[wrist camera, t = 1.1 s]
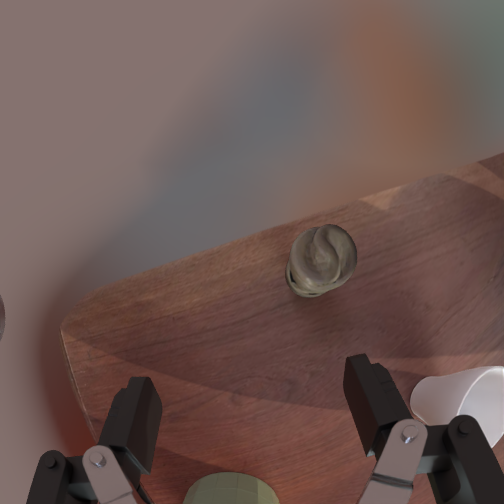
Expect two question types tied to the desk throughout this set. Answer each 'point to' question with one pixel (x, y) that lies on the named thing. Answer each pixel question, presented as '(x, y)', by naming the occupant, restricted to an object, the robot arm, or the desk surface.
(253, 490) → the pot
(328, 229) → the light bulb
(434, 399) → the cup
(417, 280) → the desk surface
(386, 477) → the robot arm
